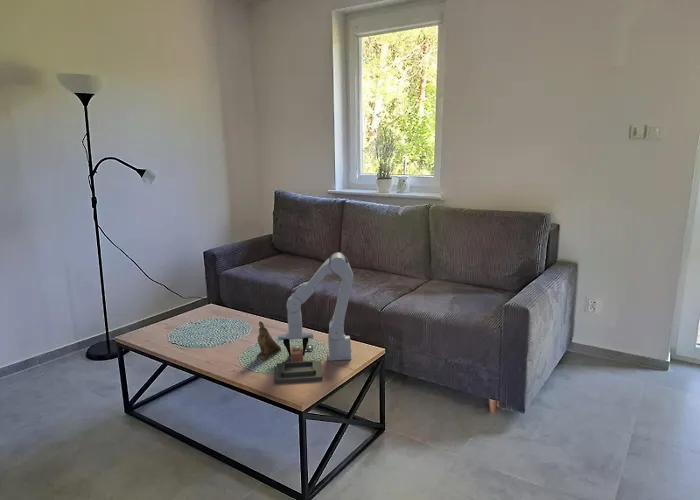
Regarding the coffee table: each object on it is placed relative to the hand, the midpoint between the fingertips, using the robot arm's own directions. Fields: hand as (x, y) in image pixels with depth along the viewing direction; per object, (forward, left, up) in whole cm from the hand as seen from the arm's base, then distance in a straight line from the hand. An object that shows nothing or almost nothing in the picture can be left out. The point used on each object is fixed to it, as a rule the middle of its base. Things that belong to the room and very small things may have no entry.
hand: (296, 355), depth 209 cm
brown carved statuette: (+12, -6, -2) cm, 14 cm away
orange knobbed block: (0, 0, -1) cm, 1 cm away
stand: (-1, +14, -1) cm, 14 cm away
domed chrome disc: (-5, -8, -2) cm, 10 cm away
